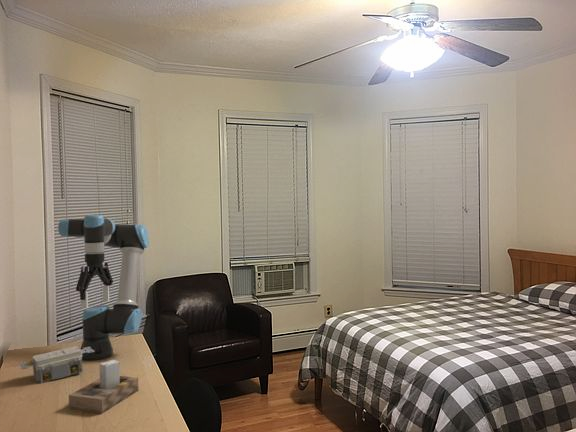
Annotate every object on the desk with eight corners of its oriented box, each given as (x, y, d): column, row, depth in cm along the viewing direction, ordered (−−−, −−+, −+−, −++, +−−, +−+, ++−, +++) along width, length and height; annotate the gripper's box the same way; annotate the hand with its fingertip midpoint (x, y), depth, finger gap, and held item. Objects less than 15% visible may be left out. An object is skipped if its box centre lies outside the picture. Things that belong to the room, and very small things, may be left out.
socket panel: (107, 386, 202) (107, 373, 202) (138, 390, 198) (138, 377, 198) (68, 408, 181) (67, 394, 181) (102, 413, 177) (101, 398, 177)
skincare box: (113, 390, 196) (113, 359, 196) (120, 392, 193) (120, 361, 193) (99, 395, 191) (98, 363, 191) (106, 397, 188) (105, 365, 188)
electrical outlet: (97, 370, 219) (95, 348, 218) (24, 390, 202) (22, 366, 202) (90, 363, 229) (88, 342, 228) (19, 381, 212) (17, 358, 211)
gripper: (106, 249, 221) (107, 297, 221) (65, 256, 197) (66, 310, 198) (120, 249, 218) (121, 298, 219) (81, 256, 195) (82, 311, 195)
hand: (95, 304), depth 208 cm, fingers open, 13 cm apart
